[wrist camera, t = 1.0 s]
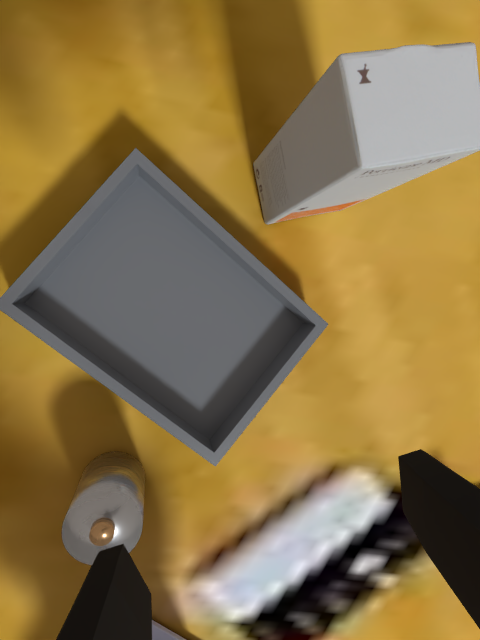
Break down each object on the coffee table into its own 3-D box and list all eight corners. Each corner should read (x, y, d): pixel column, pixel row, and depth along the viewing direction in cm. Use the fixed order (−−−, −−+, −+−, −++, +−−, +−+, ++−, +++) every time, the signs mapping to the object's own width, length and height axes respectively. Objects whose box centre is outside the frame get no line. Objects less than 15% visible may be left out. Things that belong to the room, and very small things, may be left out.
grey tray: (208, 446, 25) (215, 466, 22) (15, 303, 22) (-7, 305, 19) (309, 320, 26) (328, 324, 23) (138, 166, 23) (135, 147, 20)
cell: (118, 522, 24) (107, 586, 19) (67, 489, 24) (41, 547, 18) (157, 473, 25) (158, 522, 19) (108, 439, 24) (95, 481, 19)
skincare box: (263, 227, 25) (356, 170, 14) (251, 163, 25) (336, 47, 13) (344, 212, 26) (492, 148, 15) (333, 150, 26) (478, 34, 14)
